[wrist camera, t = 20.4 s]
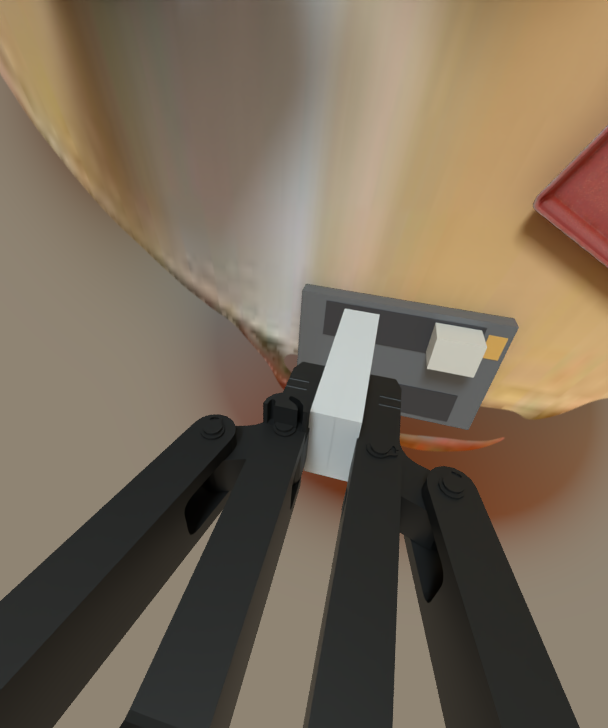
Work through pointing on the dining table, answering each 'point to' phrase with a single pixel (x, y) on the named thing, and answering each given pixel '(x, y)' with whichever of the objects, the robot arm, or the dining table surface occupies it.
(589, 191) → the plant saucer
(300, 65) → the dining table surface
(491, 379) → the switch panel
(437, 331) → the block
